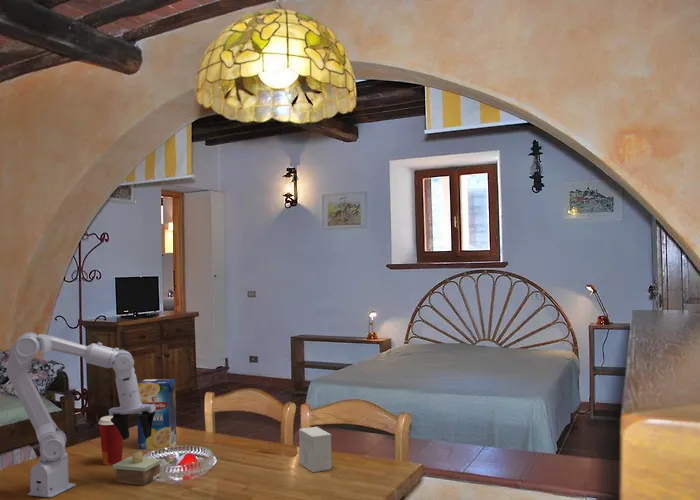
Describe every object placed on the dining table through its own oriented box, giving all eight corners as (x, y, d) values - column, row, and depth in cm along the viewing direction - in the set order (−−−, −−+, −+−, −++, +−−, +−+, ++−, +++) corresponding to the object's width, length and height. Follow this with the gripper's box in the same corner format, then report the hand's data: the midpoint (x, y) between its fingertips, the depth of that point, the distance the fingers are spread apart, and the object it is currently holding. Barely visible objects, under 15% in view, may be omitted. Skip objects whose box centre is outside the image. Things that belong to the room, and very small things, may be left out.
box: (145, 485, 175) (144, 470, 175) (115, 482, 178) (114, 468, 178) (160, 476, 181) (159, 462, 181) (131, 474, 184) (130, 460, 184)
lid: (145, 471, 174) (144, 457, 174) (112, 468, 178) (112, 454, 178) (161, 462, 182) (161, 448, 182) (130, 459, 185) (130, 446, 185)
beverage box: (145, 443, 216) (144, 379, 216) (176, 443, 215) (175, 379, 215) (137, 449, 209) (136, 383, 209) (170, 449, 208) (168, 382, 209)
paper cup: (129, 458, 199) (128, 414, 200) (118, 466, 192) (117, 420, 192) (106, 458, 200) (105, 414, 200) (94, 466, 193) (93, 420, 193)
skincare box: (332, 469, 184) (331, 433, 184) (312, 473, 181) (311, 436, 181) (318, 459, 193) (317, 425, 193) (298, 463, 190) (298, 428, 190)
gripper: (157, 385, 183) (166, 431, 183) (116, 390, 187) (125, 434, 188) (143, 393, 176) (152, 440, 177) (100, 397, 180) (109, 443, 181)
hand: (137, 437), depth 182 cm, fingers open, 7 cm apart
